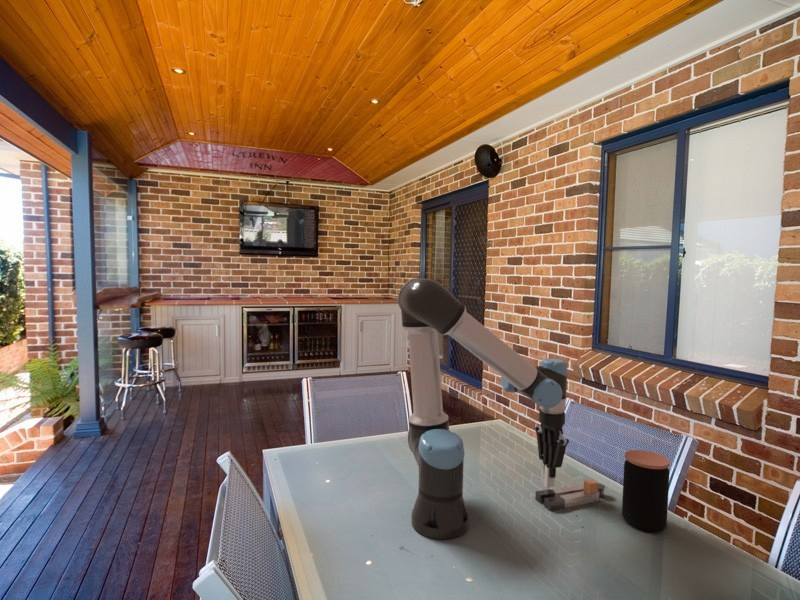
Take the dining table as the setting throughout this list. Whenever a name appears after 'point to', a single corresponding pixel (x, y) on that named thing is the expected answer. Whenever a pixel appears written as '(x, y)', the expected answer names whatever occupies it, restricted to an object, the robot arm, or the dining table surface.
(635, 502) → the coffee jar
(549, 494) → the tongs upper
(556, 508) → the tongs lower
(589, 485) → the tab
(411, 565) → the dining table surface
